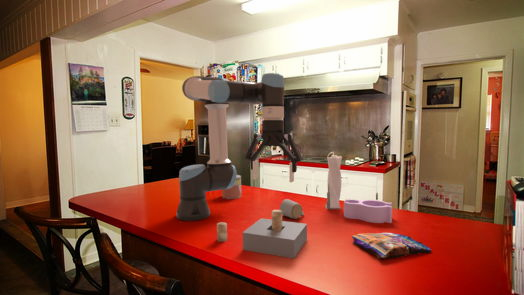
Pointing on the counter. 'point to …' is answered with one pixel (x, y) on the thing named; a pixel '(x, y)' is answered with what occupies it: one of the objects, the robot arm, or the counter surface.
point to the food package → (389, 244)
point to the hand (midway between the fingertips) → (273, 180)
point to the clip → (368, 210)
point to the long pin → (277, 220)
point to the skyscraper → (334, 182)
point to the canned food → (233, 190)
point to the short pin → (221, 231)
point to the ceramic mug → (291, 209)
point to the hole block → (275, 238)
